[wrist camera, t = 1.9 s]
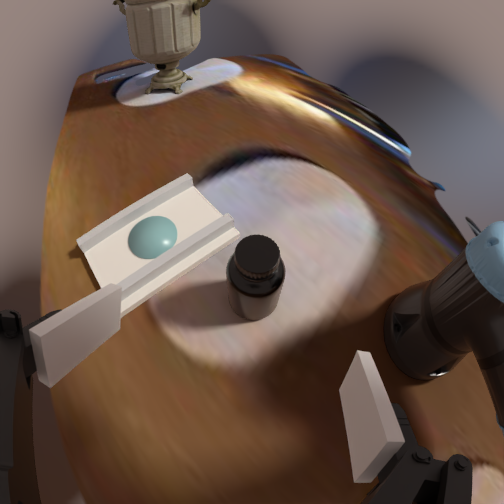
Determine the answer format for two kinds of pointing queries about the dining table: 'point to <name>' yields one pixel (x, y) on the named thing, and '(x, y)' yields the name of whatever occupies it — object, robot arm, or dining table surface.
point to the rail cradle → (156, 241)
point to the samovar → (163, 36)
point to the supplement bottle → (255, 277)
